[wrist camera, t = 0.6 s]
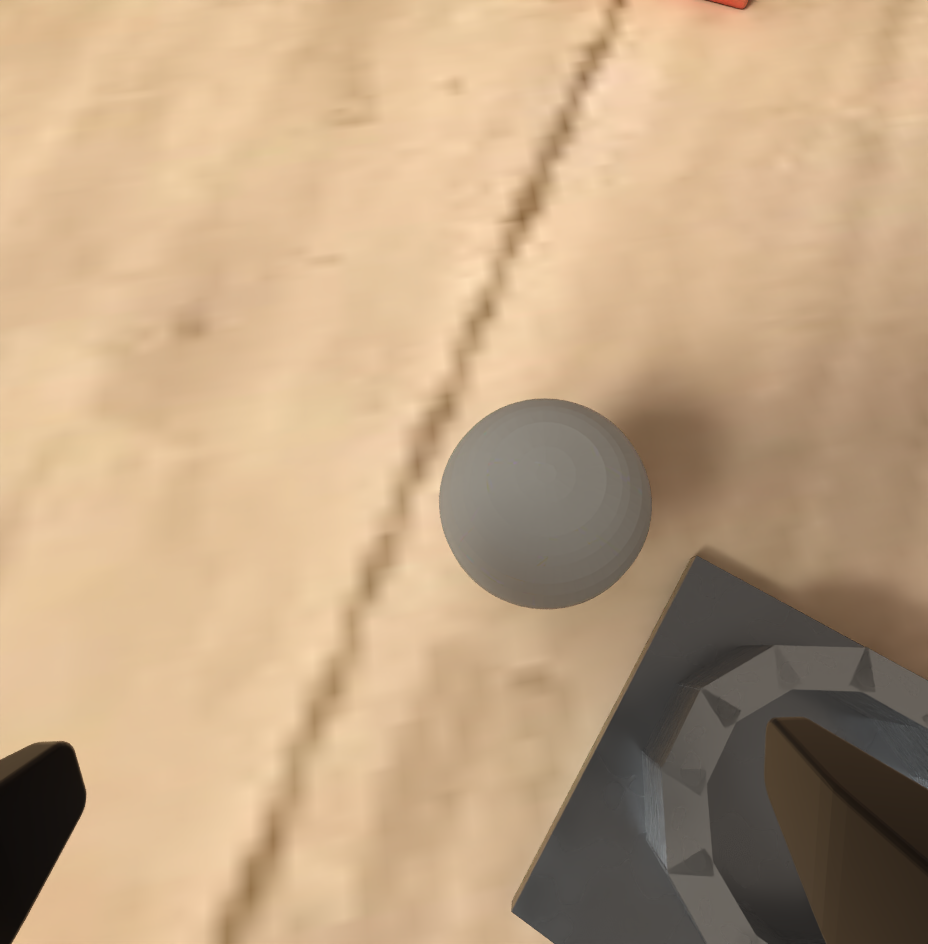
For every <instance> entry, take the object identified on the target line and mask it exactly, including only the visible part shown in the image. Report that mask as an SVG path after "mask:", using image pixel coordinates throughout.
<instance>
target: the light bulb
mask: <svg viewBox="0 0 928 944" xmlns="http://www.w3.org/2000/svg"><path fill="white" fill-rule="evenodd" d="M439 509H440V518H441V523H442V527H443V531H444V534H445V537H446V539H447V542H448V544H449V546H450V548H451V550H452V552H453V554H454V556H455V558H456V559H457V561H458V562H459V564H460V565H461V567H462V568H463V569H464V571H465V572H466V573H467V574H468V575H469V576H470V577H471V578H472V579H473V580H474V581H475V582H476V583H477V584H478V585H479V586H481V587H482V588H483V589H485V590H486V591H488V592H489V593H491V594H492V595H494V596H496V597H498V598H500V599H502V600H504V601H507V602H509V603H512V604H515V605H519V606H522V607H528V608H535V609H557V608H565V607H569V606H574V605H577V604H580V603H583V602H585V601H588V600H590V599H592V598H594V597H596V596H597V595H599V594H601V593H603V592H604V591H605V590H607V589H608V588H610V587H611V586H612V585H613V584H614V583H615V582H616V581H618V580H619V578H620V577H621V576H622V575H623V574H624V573H625V572H626V571H627V570H628V569H629V567H630V566H631V565H632V563H633V562H634V561H635V559H636V558H637V556H638V554H639V552H640V551H641V549H642V546H643V544H644V542H645V539H646V536H647V533H648V530H649V525H650V521H651V512H652V498H651V489H650V484H649V480H648V476H647V473H646V470H645V468H644V465H643V463H642V461H641V459H640V457H639V455H638V454H637V452H636V450H635V448H634V447H633V445H632V444H631V443H630V441H629V440H628V438H627V437H626V436H625V435H624V434H623V433H622V431H621V430H619V429H618V428H617V427H616V426H615V425H614V424H613V423H612V422H611V421H609V420H608V419H607V418H605V417H604V416H602V415H601V414H599V413H597V412H595V411H593V410H592V409H589V408H587V407H585V406H582V405H579V404H576V403H573V402H569V401H564V400H558V399H532V400H525V401H521V402H516V403H513V404H510V405H507V406H505V407H503V408H500V409H498V410H496V411H494V412H493V413H491V414H489V415H488V416H486V417H485V418H483V419H482V420H481V421H479V422H478V423H477V424H476V425H475V426H474V427H473V428H472V429H471V430H470V431H469V432H468V433H467V434H466V435H465V436H464V437H463V439H462V440H461V441H460V442H459V444H458V445H457V446H456V448H455V449H454V451H453V453H452V455H451V456H450V458H449V460H448V463H447V465H446V467H445V470H444V474H443V477H442V481H441V486H440V495H439Z"/></svg>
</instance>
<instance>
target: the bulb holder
mask: <svg viewBox="0 0 928 944" xmlns="http://www.w3.org/2000/svg"><path fill="white" fill-rule="evenodd" d="M776 717H805V718H807V719H809V720H811V721H813V722H815V723H816V724H818V725H820V726H821V727H823V728H825V729H827V730H828V731H830V732H832V733H833V734H835V735H837V736H838V737H840V738H842V739H844V740H845V741H847V742H849V743H850V744H852V745H854V746H856V747H857V748H859V749H861V750H862V751H864V752H866V753H867V754H869V755H871V756H873V757H874V758H876V759H878V760H879V761H881V762H883V763H885V764H886V765H888V766H890V767H891V768H893V769H895V770H896V771H898V772H900V773H902V774H903V775H905V776H907V777H908V778H910V779H912V780H914V781H915V782H917V783H919V784H920V785H922V786H924V787H925V788H927V789H928V681H927V680H926V679H924V678H922V677H920V676H918V675H916V674H915V673H913V672H911V671H909V670H907V669H905V668H904V667H902V666H900V665H898V664H896V663H894V662H893V661H891V660H889V659H887V658H885V657H883V656H882V655H880V654H878V653H876V652H874V651H872V650H871V649H869V648H867V647H864V646H862V645H860V644H858V643H856V642H854V641H853V640H851V639H849V638H847V637H845V636H843V635H842V634H840V633H838V632H836V631H834V630H832V629H831V628H829V627H827V626H825V625H823V624H821V623H820V622H818V621H816V620H814V619H812V618H810V617H809V616H807V615H805V614H803V613H801V612H799V611H798V610H796V609H794V608H792V607H790V606H788V605H787V604H785V603H783V602H781V601H779V600H777V599H776V598H774V597H772V596H770V595H768V594H766V593H764V592H763V591H761V590H759V589H757V588H755V587H753V586H752V585H750V584H748V583H746V582H744V581H742V580H741V579H739V578H737V577H735V576H733V575H731V574H730V573H728V572H726V571H724V570H722V569H720V568H719V567H717V566H715V565H713V564H711V563H709V562H708V561H706V560H704V559H702V558H700V557H698V556H695V557H693V558H691V559H690V561H689V563H688V565H687V567H686V569H685V571H684V573H683V574H682V576H681V578H680V580H679V582H678V584H677V586H676V588H675V590H674V592H673V594H672V596H671V597H670V599H669V601H668V603H667V605H666V607H665V609H664V611H663V613H662V615H661V617H660V619H659V620H658V622H657V624H656V626H655V628H654V630H653V632H652V634H651V636H650V638H649V640H648V642H647V643H646V645H645V647H644V649H643V651H642V653H641V655H640V657H639V659H638V661H637V663H636V665H635V666H634V668H633V670H632V672H631V674H630V676H629V678H628V680H627V682H626V684H625V686H624V688H623V689H622V691H621V693H620V695H619V697H618V699H617V701H616V703H615V705H614V707H613V709H612V711H611V712H610V714H609V716H608V718H607V720H606V722H605V724H604V726H603V728H602V730H601V732H600V734H599V735H598V737H597V739H596V741H595V743H594V745H593V747H592V749H591V751H590V753H589V755H588V757H587V758H586V760H585V762H584V764H583V766H582V768H581V770H580V772H579V774H578V776H577V778H576V780H575V781H574V783H573V785H572V787H571V789H570V791H569V793H568V795H567V797H566V799H565V801H564V803H563V804H562V806H561V808H560V810H559V812H558V814H557V816H556V818H555V820H554V822H553V824H552V826H551V827H550V829H549V831H548V833H547V835H546V837H545V839H544V841H543V843H542V845H541V847H540V849H539V850H538V852H537V854H536V856H535V858H534V860H533V862H532V864H531V866H530V868H529V870H528V872H527V873H526V875H525V877H524V879H523V881H522V883H521V885H520V887H519V889H518V891H517V893H516V895H515V897H514V898H513V900H512V909H511V912H513V913H514V914H515V915H517V916H518V917H519V918H521V919H522V920H523V921H525V922H526V923H527V924H529V925H530V926H531V927H533V928H534V929H535V930H537V931H538V932H539V933H541V934H542V935H543V936H545V937H546V938H547V939H549V940H550V941H551V942H553V943H554V944H826V942H825V940H824V938H823V935H822V933H821V931H820V928H819V926H818V923H817V921H816V919H815V916H814V914H813V911H812V909H811V906H810V904H809V901H808V898H807V896H806V893H805V891H804V888H803V886H802V883H801V880H800V878H799V875H798V873H797V870H796V867H795V865H794V862H793V860H792V857H791V854H790V852H789V849H788V847H787V844H786V842H785V839H784V836H783V834H782V831H781V829H780V826H779V823H778V821H777V818H776V816H775V813H774V810H773V808H772V805H771V803H770V800H769V797H768V794H767V791H766V786H765V780H764V763H765V739H766V727H767V724H768V721H769V720H771V719H772V718H776Z"/></svg>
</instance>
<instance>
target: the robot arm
mask: <svg viewBox="0 0 928 944" xmlns="http://www.w3.org/2000/svg"><path fill="white" fill-rule="evenodd" d="M764 780H765V786H766V791H767V794H768V797H769V800H770V803H771V805H772V808H773V810H774V813H775V816H776V818H777V821H778V823H779V826H780V829H781V831H782V834H783V836H784V839H785V842H786V844H787V847H788V849H789V852H790V854H791V857H792V860H793V862H794V865H795V867H796V870H797V873H798V875H799V878H800V880H801V883H802V886H803V888H804V891H805V893H806V896H807V898H808V901H809V904H810V906H811V909H812V911H813V914H814V916H815V919H816V921H817V923H818V926H819V928H820V931H821V933H822V935H823V938H824V940H825V942H826V944H928V789H927V788H925V787H924V786H922V785H920V784H919V783H917V782H915V781H914V780H912V779H910V778H908V777H907V776H905V775H903V774H902V773H900V772H898V771H896V770H895V769H893V768H891V767H890V766H888V765H886V764H885V763H883V762H881V761H879V760H878V759H876V758H874V757H873V756H871V755H869V754H867V753H866V752H864V751H862V750H861V749H859V748H857V747H856V746H854V745H852V744H850V743H849V742H847V741H845V740H844V739H842V738H840V737H838V736H837V735H835V734H833V733H832V732H830V731H828V730H827V729H825V728H823V727H821V726H820V725H818V724H816V723H815V722H813V721H811V720H809V719H807V718H805V717H776V718H772V719H771V720H769V721H768V724H767V727H766V739H765V763H764ZM85 803H86V789H85V785H84V782H83V778H82V774H81V771H80V767H79V764H78V760H77V757H76V753H75V750H74V748H73V747H72V746H71V745H70V744H69V743H67V742H64V741H53V742H38V743H34V744H31V745H29V746H27V747H25V748H23V749H21V750H19V751H17V752H15V753H13V754H11V755H9V756H7V757H5V758H3V759H1V760H0V944H12V942H13V940H14V939H15V937H16V935H17V933H18V932H19V930H20V928H21V926H22V924H23V923H24V921H25V919H26V917H27V916H28V914H29V912H30V910H31V908H32V906H33V904H34V902H35V901H36V899H37V897H38V895H39V893H40V891H41V889H42V888H43V886H44V884H45V882H46V880H47V878H48V876H49V875H50V873H51V871H52V869H53V867H54V865H55V863H56V861H57V860H58V858H59V856H60V854H61V852H62V850H63V848H64V847H65V845H66V843H67V841H68V839H69V837H70V835H71V834H72V832H73V830H74V828H75V826H76V824H77V822H78V820H79V819H80V817H81V815H82V813H83V810H84V807H85Z"/></svg>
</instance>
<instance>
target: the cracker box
mask: <svg viewBox="0 0 928 944" xmlns="http://www.w3.org/2000/svg"><path fill="white" fill-rule="evenodd" d="M709 1H713V2H717V3H721V4H725V5H728V6H732V7H735V8H741V9H743V8H745V6H746V5H747V3H748V1H749V0H709Z"/></svg>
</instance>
